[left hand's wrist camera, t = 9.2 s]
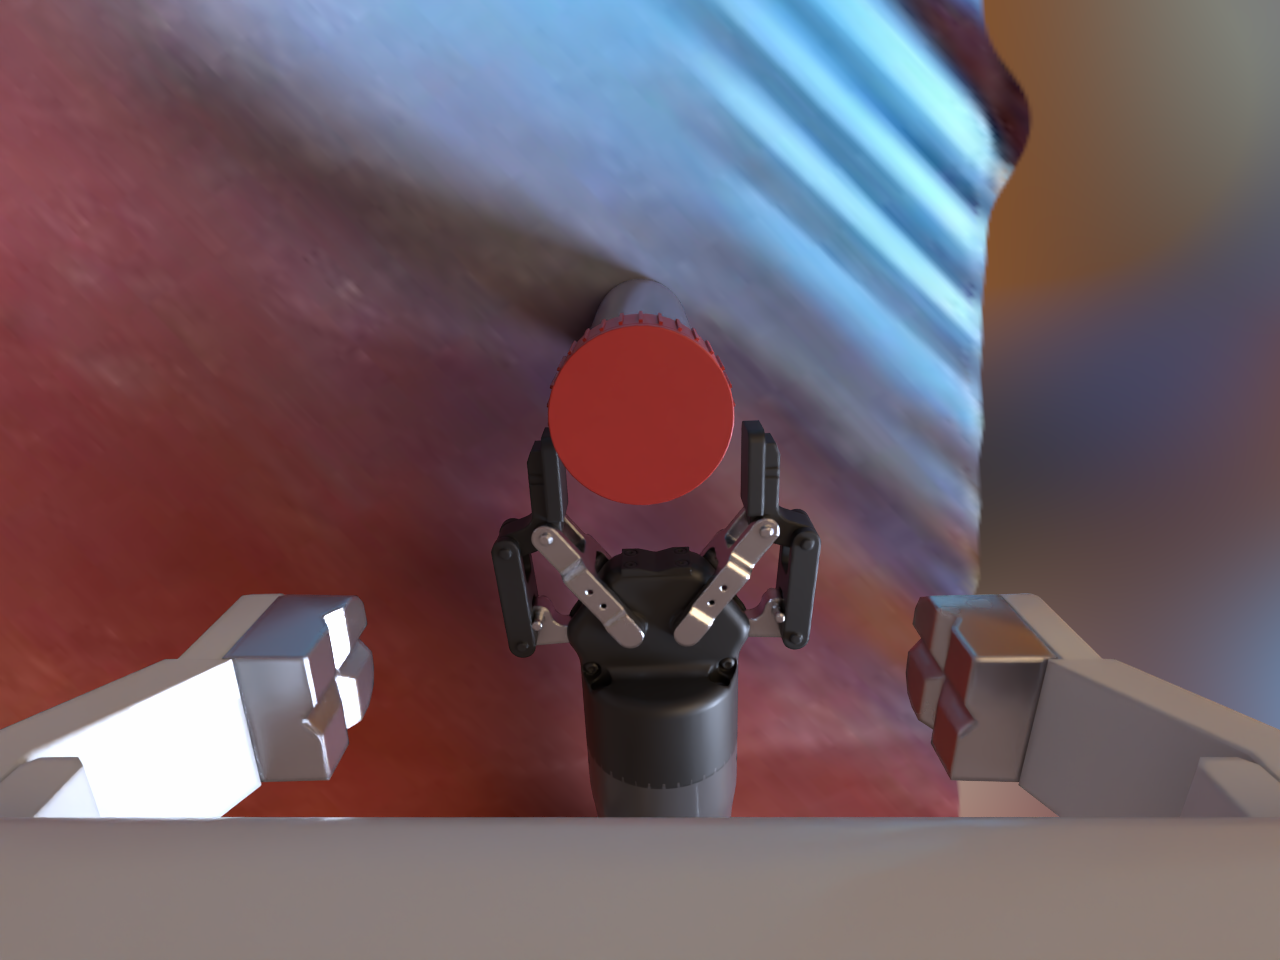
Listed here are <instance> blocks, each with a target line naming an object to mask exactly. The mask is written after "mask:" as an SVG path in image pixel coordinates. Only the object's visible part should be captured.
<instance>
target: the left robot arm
mask: <svg viewBox="0 0 1280 960" xmlns="http://www.w3.org/2000/svg"><path fill="white" fill-rule="evenodd" d="M366 626H367V619H366V614H365V609H364V604H363V602H362V601H361V600H360V599H359V597H358V596H347V595H294V594H287V595H284V594H251V595H244V596H241V597H240V598H239V599H238V600H237V601H236V602H235V603H234V604H233V605H232V606H231V607H230V608H229V609H228V610H227V611H226V612H225V613H224V614H223V615H222V616H221V617H220V618H219V619H218V620H217V621H216V622H215V623H214V624H213V625H212V626H211V627H210V628H209V629H208V630H207V631H206V632H205V633H204V634H203V635H202V636H201V637H200V638H199V639H198V640H197V641H196V642H195V643H193V644H192V645H191V646H190V647H189V648H188V649H187V650H186V651H185V652H184V653H183V654H182V655H181V656H180V657H179V658H178V659H165V660H162V661H160V662H158V663H155V664H153V665H151V666H148V667H146V668H144V669H141V670H139V671H137V672H134V673H132V674H130V675H127V676H125V677H123V678H120V679H118V680H116V681H113V682H111V683H109V684H106V685H104V686H102V687H99V688H97V689H94V690H92V691H90V692H87V693H85V694H83V695H80V696H78V697H76V698H73V699H71V700H69V701H66V702H64V703H62V704H59V705H57V706H55V707H52V708H50V709H48V710H45V711H43V712H41V713H38V714H36V715H34V716H31V717H29V718H27V719H24V720H22V721H20V722H17V723H15V724H13V725H10V726H8V727H6V728H3V729H1V730H0V960H1280V730H1279V729H1276V728H1274V727H1272V726H1269V725H1267V724H1265V723H1262V722H1260V721H1258V720H1255V719H1253V718H1251V717H1248V716H1246V715H1244V714H1241V713H1239V712H1237V711H1234V710H1232V709H1230V708H1227V707H1225V706H1223V705H1220V704H1218V703H1216V702H1213V701H1211V700H1209V699H1206V698H1204V697H1202V696H1199V695H1197V694H1195V693H1192V692H1190V691H1188V690H1185V689H1183V688H1181V687H1178V686H1176V685H1174V684H1171V683H1169V682H1167V681H1164V680H1162V679H1160V678H1157V677H1155V676H1153V675H1150V674H1148V673H1146V672H1143V671H1141V670H1139V669H1136V668H1134V667H1132V666H1129V665H1127V664H1125V663H1122V662H1120V661H1118V660H1115V659H1102V658H1101V657H1100V656H1099V655H1098V654H1097V653H1096V652H1095V651H1094V650H1093V649H1092V648H1091V647H1090V646H1089V645H1088V644H1087V643H1086V642H1085V641H1084V640H1083V639H1081V637H1079V636H1078V635H1077V634H1076V633H1075V632H1074V631H1073V630H1072V629H1071V628H1070V627H1069V626H1068V625H1067V624H1066V623H1065V622H1064V621H1063V620H1062V619H1061V618H1060V617H1059V616H1058V615H1057V614H1056V613H1055V612H1054V611H1053V610H1052V609H1051V608H1050V607H1049V606H1048V605H1047V604H1046V603H1045V602H1044V601H1043V600H1042V599H1041V598H1040V597H1039V596H1036V595H1033V594H1029V593H1028V594H1005V595H999V594H996V595H955V596H926V597H920V598H919V601H918V603H917V605H916V608H915V613H914V619H913V626H914V627H915V629H916V630H917V632H918V633H919V635H920V637H921V639H920V640H919V641H918V642H917V643H916V644H915V645H914V646H913V647H912V648H911V649H910V651H909V652H908V658H907V667H906V681H907V693H908V696H909V699H910V703H911V706H912V708H913V710H914V712H915V714H916V716H917V718H918V720H919V721H921V722H922V723H924V724H925V725H927V726H929V727H930V728H932V729H933V733H932V739H931V744H932V746H933V748H934V750H935V752H936V754H937V755H938V757H939V759H940V761H941V763H942V765H943V766H944V768H945V770H946V772H947V774H948V776H949V777H950V779H951V780H963V781H1000V782H1019V786H1020V787H1022V788H1023V789H1024V790H1026V791H1027V792H1028V793H1029V794H1031V795H1032V796H1033V797H1035V798H1036V799H1037V800H1038V801H1040V802H1041V803H1042V804H1044V805H1045V806H1046V807H1048V808H1049V809H1050V810H1051V811H1053V812H1054V813H1055V814H1057V815H1058V816H1059V817H221V816H222V815H224V814H225V813H226V812H228V811H229V810H230V809H231V808H233V807H234V806H235V805H237V804H238V803H239V802H240V801H242V800H243V799H244V798H246V797H247V796H248V795H250V794H251V793H252V792H253V791H255V790H256V789H257V788H259V787H260V786H261V782H279V781H315V780H329V779H330V778H331V776H332V774H333V772H334V770H335V768H336V767H337V765H338V763H339V761H340V759H341V757H342V756H343V754H344V752H345V750H346V748H347V746H348V744H349V739H348V733H347V729H348V728H350V727H351V726H353V725H355V724H356V723H358V722H359V721H361V720H362V718H363V716H364V714H365V712H366V710H367V708H368V706H369V703H370V699H371V694H372V690H373V685H374V664H373V657H372V652H371V651H370V649H369V648H368V647H367V646H366V645H365V644H364V643H363V642H362V641H361V640H360V639H359V637H360V635H361V633H362V632H363V630H364V629H365V627H366Z"/></svg>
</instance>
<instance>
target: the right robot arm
mask: <svg viewBox="0 0 1280 960" xmlns="http://www.w3.org/2000/svg"><path fill="white" fill-rule="evenodd" d="M779 466H780V453H779V450H778V448H777V445H776V443H775V441H774V439H773V438H772V436H771V434H770V433H764V429H763V427H762V425H761V424H760V422H759V420H758V421H742V435H741V499H742V502H743V505H744V507H743V508H742V509H741V510H740V512H739V513H738V514H737V515H736V516H735V518H734V519H733V520H732V521H731V523H730V524H729V525H728V526H727V527H726V528H725V529H722V530H720V531H719V532H718V533H717V534H716V535H715V536H714V537H713V539H712V540H711V541H710V542H709V544H708V545H707V546H706V547H705V548H704V550H703V551H702V552H701V553H700V555H699V554H697V553H694V552H690V551H689V547H672V548H668V549H665V550H661V551H658V552H653V551H648V550H643V549H622V554H619V555H616V556H614V557H613V558H612V557H611V556H610V555H609V554H608V553H607V552H606V551H605V550H604V549H603V548H602V547H601V545H600V544H599V543H598V542H597V541H596V540H595V539H594V538H593V537H592V536H591V535H589V534H585V533H583V532H582V530H581V529H580V528H579V527H578V526H577V525H576V524H575V523H574V522H573V521H572V520H571V519H570V518H569V517H568V515H567V514H566V509H567V505H568V493H567V481H566V468H565V466H564V465H563V463H562V461H561V460H560V458H559V457H558V454H557V452H556V450H555V448H554V446H553V442H552V439H551V436H550V431H549V427H545V429H544V432H543V434H542V437H541V441H535V442H534V445H533V447H532V449H531V452H530V455H529V458H528V461H527V468H528V478H529V488H530V498H531V508H532V513H531V514H530V515H528V516H526V517H523V518H521V519H516V518H511V519H508V520H506V521H505V522H504V523H503V524H502V526H501V529H500V532H499V536H498V538H497V540H496V541H495V543H494V545H493V548H492V551H491V554H492V560H493V565H494V570H495V575H496V581H497V586H498V591H499V596H500V601H501V607H502V612H503V617H504V622H505V628H506V633H507V638H508V643H509V648H510V651H511V652H512V653H513V654H514V655H515V656H517V657H522V658H524V657H529V656H531V655H532V654H533V653H534V651H535V648H536V645H545V644H556V643H568V642H569V643H570V644H571V646H572V647H573V648H574V649H575V651H576V652H577V654H578V656H579V659H580V663H581V674H582V687H583V699H584V712H585V725H586V737H587V749H588V762H589V774H590V782H591V789H592V794H593V798H594V801H595V805H596V809H597V815H598V817H731V809H732V802H733V797H734V793H735V787H736V774H737V713H738V657H739V652H740V650H741V647H742V646H743V644H744V643H745V641H746V640H747V638H748V637H782V640H783V643H784V645H785V646H786V647H788V648H790V649H800V648H802V647H804V646H805V645H806V644H807V643H808V641H809V635H810V627H811V619H812V611H813V603H814V595H815V587H816V579H817V571H818V563H819V555H820V547H821V540H820V537H819V536H818V534H817V532H816V530H815V528H814V526H813V524H812V522H811V521H810V519H809V517H808V515H807V513H806V512H804V511H803V510H800V509H793V510H788V509H785V508H782V507H780V506H779V505H778V502H779V472H780V468H779ZM773 543H775V544H779V545H780V553H779V563H778V572H777V582H776V589H774V588H769V589H768V590H767V591H766V592H765V593H764V594H763V596H762V599H761V602H760V603H759V605H758V606H757V607H755V608H753V609H749V610H746V608H745V606H744V604H743V603H742V601H741V600H740V599H739V598H738V597H737V596H736V593H737V592H738V591H739V590H740V589H741V588H742V586H743V585H744V584H745V583H746V582H747V580H748V579H749V577H750V575H751V572H752V568H753V566H754V565H755V564H756V563H757V561H758V560H759V559H760V558H761V557H762V555H763V554H764V553H765V552H766V551H767V550H768V548H769V547H770V546H771V545H772V544H773ZM536 551H539V552H540V553H541V554H542V555H543V556H544V557H545V558H546V559H547V560H548V561H549V562H550V563H551V564H552V565H553V566H554V567H555V568H556V569H557V570H558V571H559V573H560V574H561V576H562V579H563V582H564V583H565V585H566V586H567V587H568V588H569V589H570V590H571V591H572V593H573V594H574V595H575V596H576V597H577V598H578V599H579V600H578V601H577V603H576V604H575V606H574V607H573V608H572V610H571V612H570V615H569V616H566V615H562V614H560V613H558V612H557V611H556V610H555V608H554V606H553V603H552V602H551V601H550V600H549V599H548V598H547V597H546V596H540V597H538V591H537V586H536V580H535V574H534V568H533V562H532V556H531V553H533V552H536Z"/></svg>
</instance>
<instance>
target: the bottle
mask: <svg viewBox="0 0 1280 960" xmlns="http://www.w3.org/2000/svg"><path fill="white" fill-rule="evenodd" d="M639 311H643V314H653V315H658V313H661V314H662V316H663V317H667V318H670V319H672V320H676V318H677V319H679V320H680V323H681V324H683V325H685V326H686V327H688V328H690V329H691V326H690V324H689V321H688V319H687V316H686V314H685V311H684V309H683V306H682V304H681V302H680V301H679V299H678V298H677V296H676V295H675V294H674V293H673V292H672V291H671V290H670V289H669V288H667V287H666V286H664V285H662V284H660V283H658V282H656V281H652V280H647V279H634V280H629V281H626V282H624V283H621V284H619V285H618V286H616V287H614V288H613V289H612V290H611V291H610V292H609V293H608V294H607V295H606V296H605V297H604V299H603V300H602V302H601V304H600V305H599V308H598V311H597V313H596V316H595V318H594V321H593V323H592V326H591V329H592V328H594V327H596V326H597V325H599V324H601V322H602V320H603V319H606V321H607V320H610V319H612V318H615V317H619V316H620V313H624V315H629V314H639ZM591 329H590V330H591Z"/></svg>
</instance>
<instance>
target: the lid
mask: <svg viewBox="0 0 1280 960" xmlns="http://www.w3.org/2000/svg"><path fill="white" fill-rule="evenodd" d="M723 370H725V368H724V366H723V364H722V362H721V360H720V358H719V356H718V355H717V356H715V355H714V352H713V350H712V348H711V346H710V344H709V342H708V341H707V340H706V341H704V340H703V339H702V338H701V337H700V336H699V335H698V334H697V332H696V330H695V329H694V328H692V329H690V328H688V327H686V326H685V325H683V324H681V323H680V320H679V319H677V318H676V320H672V319H670V318H667V317H663V316H662V314H661V313H658V315H653V314H643V311H639V314H629V315H624V313H620V316H619V317H615V318H612V319H610V320H607V321H606V319H603V320H602V322H601V324H599V325H597V326H596V327H594V328H592V329H591V330H590V329H589V328H588V329H587V330H586V331H585V334H584V335H583V336H582V337H581V338H580V339H579V340H578V342H576V341H574V342H573V343H572V345H571V348H570V350H569V352H568V355H567V357H566V356H563V358H562V360H561V362H560V364H559V366H558V368H557V371H559V373H556V375H555V377H554V379H553V381H552V383H551V386H550V389H552V390H551V395H550V399H549V401H548V403H547V407H548V426H549V431H550V436H551V439H552V442H553V446H554V448H555V450H556V452H557V454H558V457H559V458H560V460H561V461H562V463H563V465H564V466H565V468H566V469H567V470H568V471H569V472H570V474H571V475H572V476H573V477H574V478H575V479H576V480H577V481H579V482H580V483H581V484H582V485H583V486H585V487H586V488H588V489H589V490H590V491H592V492H594V493H596V494H598V495H600V496H602V497H604V498H607V499H610V500H612V501H616V502H620V503H625V504H633V505H648V504H657V503H662V502H666V501H670V500H672V499H675V498H678V497H680V496H682V495H684V494H686V493H688V492H690V491H692V490H693V489H694V488H696V487H697V486H699V485H700V484H701V483H702V482H704V481H705V480H706V479H707V478H708V477H709V476H710V475H711V474H712V472H713V471H714V470H715V469H716V468H717V466H718V465H719V463H720V462H721V460H722V459H723V457H724V455H725V453H726V451H727V449H728V446H729V443H730V440H731V437H732V432H733V427H734V406H735V402H734V400H733V398H732V394H731V390H730V388H732V385H731V383H730V381H729V379H728V377H727V375H726V373H725V372H723Z"/></svg>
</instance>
